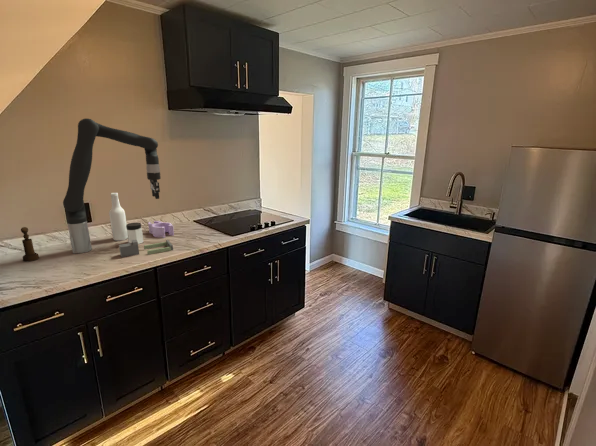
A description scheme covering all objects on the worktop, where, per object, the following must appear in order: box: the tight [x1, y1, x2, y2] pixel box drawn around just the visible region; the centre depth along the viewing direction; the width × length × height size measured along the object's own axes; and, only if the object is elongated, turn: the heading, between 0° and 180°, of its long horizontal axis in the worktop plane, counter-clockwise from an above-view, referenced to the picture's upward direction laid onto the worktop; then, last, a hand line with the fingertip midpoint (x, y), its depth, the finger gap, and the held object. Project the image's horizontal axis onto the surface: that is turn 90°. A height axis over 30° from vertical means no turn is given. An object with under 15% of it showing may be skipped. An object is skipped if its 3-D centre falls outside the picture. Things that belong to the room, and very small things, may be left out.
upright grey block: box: [118, 240, 140, 259], centre depth 177 cm, size 9×5×8 cm, turn 125°
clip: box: [147, 220, 175, 239], centre depth 215 cm, size 20×12×7 cm, turn 54°
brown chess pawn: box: [20, 226, 40, 262], centre depth 167 cm, size 7×6×18 cm
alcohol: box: [108, 192, 128, 242], centre depth 200 cm, size 9×9×30 cm
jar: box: [126, 222, 144, 245], centre depth 196 cm, size 9×8×12 cm
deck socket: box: [143, 239, 174, 255], centre depth 186 cm, size 14×11×3 cm
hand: (155, 197), depth 197 cm, fingers open, 8 cm apart
